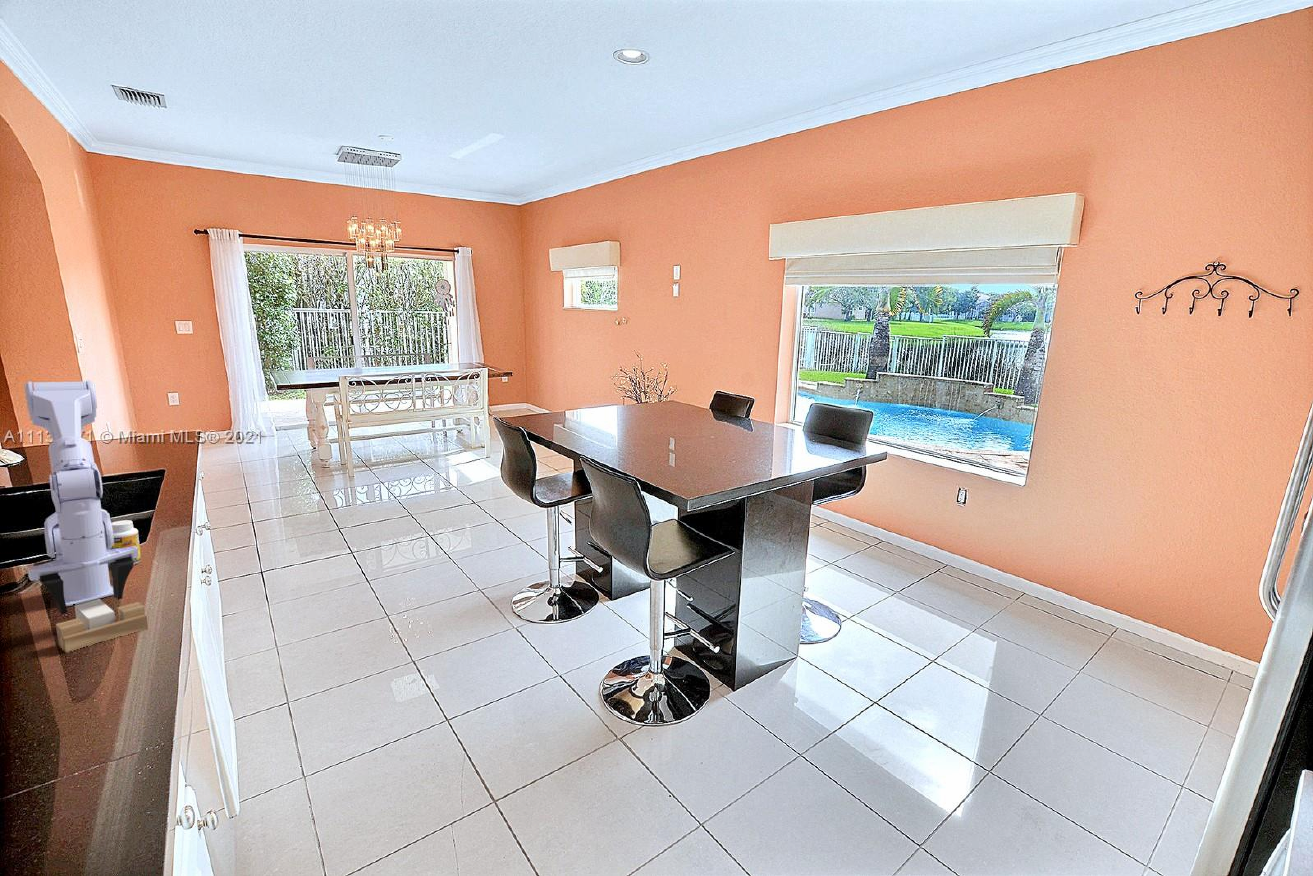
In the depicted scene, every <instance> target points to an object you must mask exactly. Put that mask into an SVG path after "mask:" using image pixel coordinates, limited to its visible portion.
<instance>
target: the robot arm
mask: <svg viewBox="0 0 1313 876" xmlns="http://www.w3.org/2000/svg"><path fill="white" fill-rule="evenodd" d="M24 392H25V398H26V406H27V411H28V414H29V419H30V421H31V422H32V424H33V426H37V427H40V428H44V429H46V431H47V432H48V434H49V436H50V438H51V439H52V442H51V443H50V444H49V446H48V455H49V463H50V470H51V474H49V476H48V477H49V478H48V480H49V485H50V487H49V488H50V494H51V499H52V502H53V505H54V507H55V508H54V509H55V512H54V513H51V515H49V516H48V517H47V518H45V521H44V524H43V525H44V530H43V531H44V540H45V547H46V555H47V556H48V557H50V558H51V559H53V558H56V560H53V561H49V562H46V563H43V564H39V565H34V566H30V567H27V574H28V575H27V576H28V579H29V580H30V581H32V582H35V581H39V582H40V583H41V584H42V585H43V587H44V588H45V589H46V591H48V593H49V595H50V596H51V597H52V599H53V601H54V602H55V605H56V607H57V611H58V612H59V614H60V615H64V614H65V615H66V614H67V613H68V611H67V609H68V608H67V607H71V606H74V605H73V604H75V605H79V604H83V603H86V602H90V601H94V600H98V599H102V598H106V597H109V596H111V597H112V596H114V598H115V599H116V600H117V601H118V600H122V599H123V596H124V590H125V589H124V588H125V586H126V583H127V579H128V578H129V575H130V573H131V572H132V569H133V568H134V566H135V565H134V562H133V561H132V559H135V558H139V553H138V548H137V547H135V546H131V547H126V548H118V549H111V550H108V549H107V548H112V546H113V545H114V536H113V529H112V523H113V522H112V521H111V516H110V513H109V512H108V510H105V509H103V508H102V504H101V499H102V498H103V493H104V491H103V490H104V489H103V481H102V476H101V472H100V471H99V468H98V466H97V465H98V464H97V463H95V458H94V453H93V447H92V444H91V442H90V441H89V440H87V439H85V438H82V432H83V430H84V427H85V426H87V425H90V424H92V423H94V422H95V421H96V420H95V419H96V418H97V408H98V402H97V394H96V387H95V384H94V382H92V380H86V381H47V382H46V381H41V382H40V381H39V382H38V381H37V382H36V381H34V382H32V381H27V382H26V383H25V384H24ZM97 492H98V494H99V497H98V496H97ZM109 564H110V565H109ZM109 567H110V569H109ZM109 570H110V571H111V577H112V585H111V580H110V579H111V578H110V572H109Z"/></svg>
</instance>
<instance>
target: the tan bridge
mask: <svg viewBox="0 0 1313 876" xmlns="http://www.w3.org/2000/svg"><path fill="white" fill-rule="evenodd" d="M117 612H118V613H117V614H118V621H116V622H115V623H111V624H108V625H104V626H101V627H97V628H94V629H90V630H87V631H85V623H84V622H83V621H82V620H81V619H80V618H77V619H76V618H74V619H70V620H67V621H61V622H59V623H55V626H56V627H55V628H56V635H57V642H58V646H59V647H60V649H61V648H62V649H61V650H62V651H63V652H65V654H69V653H71V652H70V651H72V652H75V651H78V650H81V649H80V648H82V649H84V648H83V647H85V648H87V647H86V646H88V647H91V645H92V646H94V645H93V644H95V643H98V642H101V641H105V642H108V641H110V639H112V640H115V639H117V637H118V638H120V637H119V636H122V637H124V636H128V634H129V635H132V634H135V633H138V632H141V631H145V630H149V629H148V628H149V627H148V617H147V615H146V613H145V605H143V604H142V603H140V602H133V603H129V604H126V605H122V606H119V607H117ZM134 632H135V633H134ZM131 633H132V634H131ZM114 638H115V639H114ZM107 640H108V641H107ZM98 644H99V643H98ZM95 645H96V644H95ZM77 649H78V650H77ZM74 650H75V651H74Z"/></svg>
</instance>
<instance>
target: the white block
mask: <svg viewBox="0 0 1313 876" xmlns="http://www.w3.org/2000/svg"><path fill="white" fill-rule="evenodd" d="M74 611H75V612H74V613H75V619H77V618H80V619H81V620H82V621H83V622H84V623H85V631H87V630H90V629H94V628H97V627H101V626H104V625H108V624H111V623H115V622H117V621H116V615H115V613H116V612H115V611H114V610H113V609H112V608H111V607H110V606H109V605H107V604H106V603H105V602H104V601H102V599H101V598H99V599H95V600H91V601H87V602H83V603H79V604H75V605H74Z"/></svg>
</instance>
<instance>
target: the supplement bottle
mask: <svg viewBox="0 0 1313 876" xmlns="http://www.w3.org/2000/svg"><path fill="white" fill-rule="evenodd" d="M111 523H112V529H113V536H114V545H113V546H112V548H107V550H111V549H118V548H126V547H131V546H135V547H137V548H138V553H139V558H135V559H132V561H133V562H134V564H135V563H138V562H139V561H140V560H141V561H142V557H141V546H140V539H139V537H140V535H139V530H138V529H137V528H135V527H134V524H133V521H132V520H130V519H125V520H117V521H113V522H111ZM141 561H140V562H141ZM140 562H139V563H140ZM139 563H138V564H139ZM108 566H110V564H109V563H108Z"/></svg>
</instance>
